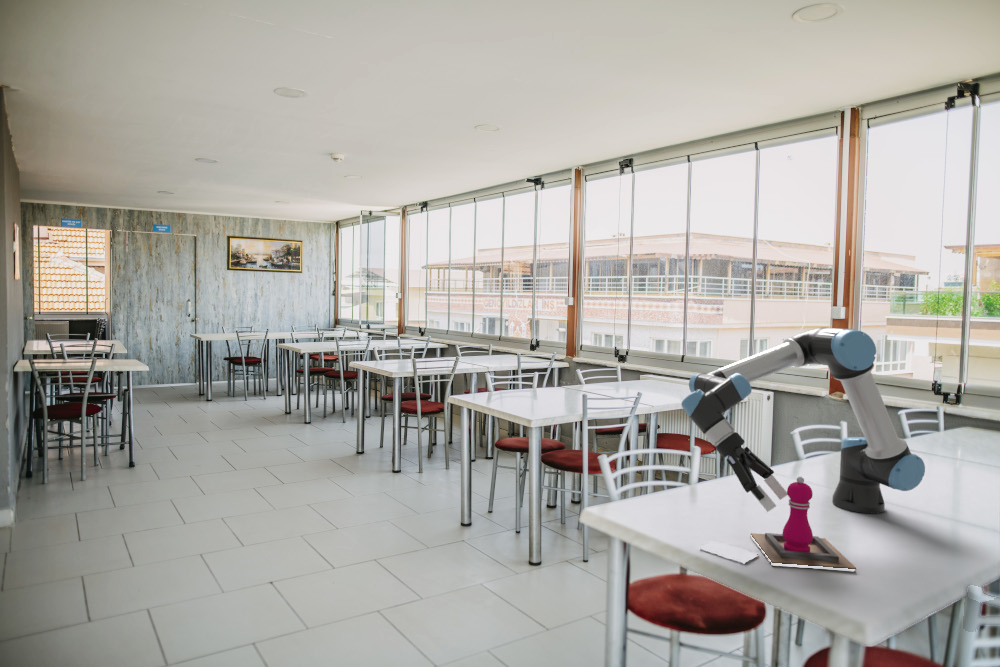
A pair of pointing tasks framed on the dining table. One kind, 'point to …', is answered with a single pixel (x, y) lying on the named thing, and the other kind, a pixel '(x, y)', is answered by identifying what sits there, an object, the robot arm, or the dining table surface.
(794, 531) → the pepper mill
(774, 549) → the pocket board
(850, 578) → the dining table surface
